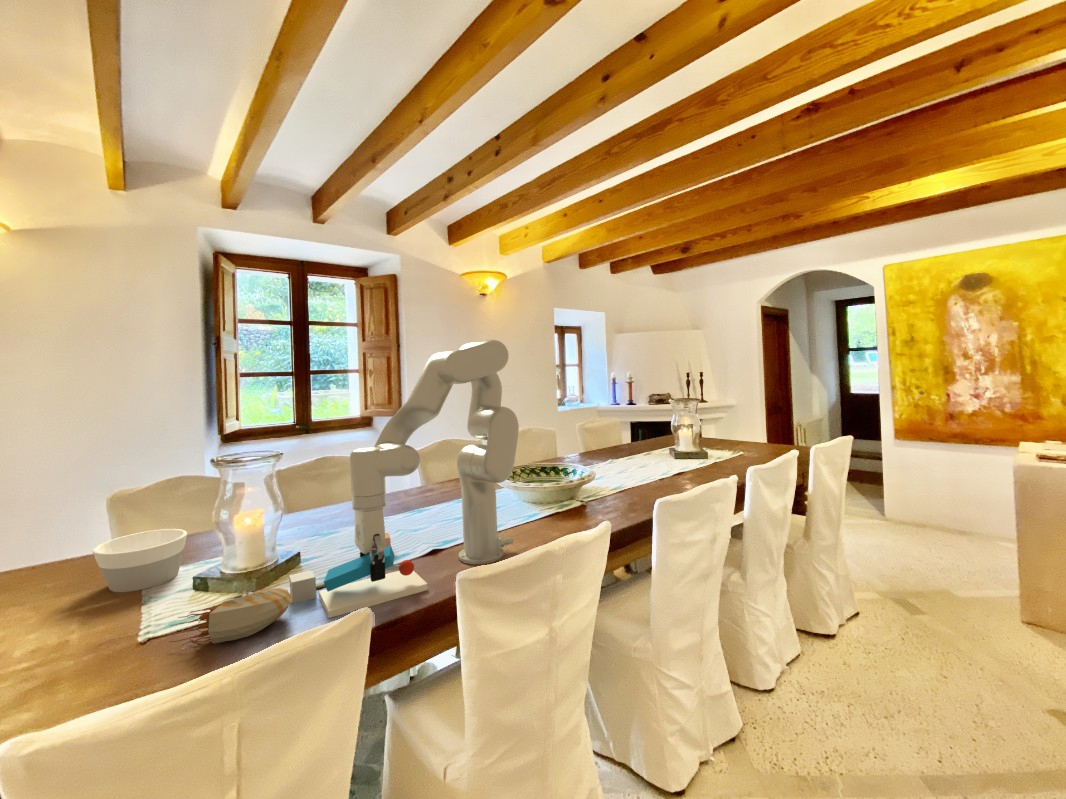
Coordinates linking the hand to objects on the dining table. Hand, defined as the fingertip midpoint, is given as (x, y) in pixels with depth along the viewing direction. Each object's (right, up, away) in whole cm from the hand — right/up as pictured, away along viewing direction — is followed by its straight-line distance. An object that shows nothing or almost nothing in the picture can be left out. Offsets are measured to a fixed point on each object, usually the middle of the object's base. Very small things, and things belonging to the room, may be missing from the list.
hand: (372, 573), depth 112 cm
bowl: (-64, -7, +13) cm, 66 cm away
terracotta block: (-7, -4, +27) cm, 28 cm away
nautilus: (-23, -7, -15) cm, 29 cm away
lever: (0, -2, 0) cm, 2 cm away
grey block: (-16, -6, 0) cm, 17 cm away
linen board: (0, -5, 0) cm, 5 cm away
